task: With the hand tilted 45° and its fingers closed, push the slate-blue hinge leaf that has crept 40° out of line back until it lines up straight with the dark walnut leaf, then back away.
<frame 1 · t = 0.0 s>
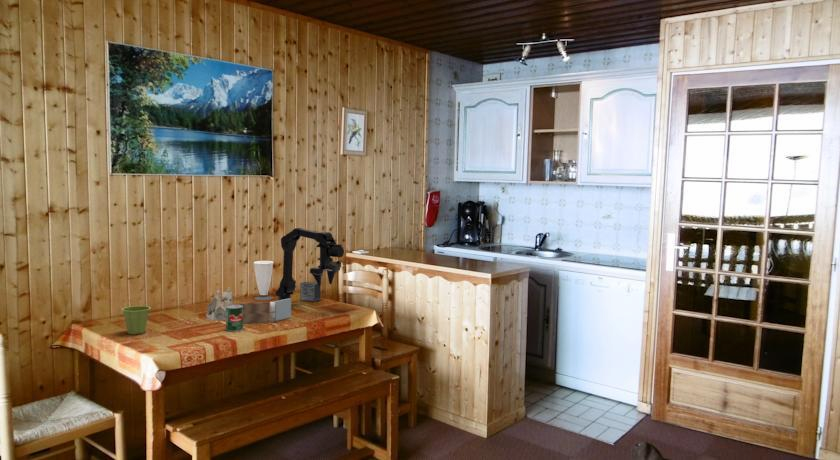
hand: (325, 285, 317), 15 cm above the table, tool pointing down, fingers open, 9 cm apart
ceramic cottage: (219, 317, 304), on the table
cup: (263, 298, 353), on the table
walnut leaf: (272, 322, 295), on the table
canned tomato: (234, 329, 280), on the table
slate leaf: (280, 309, 299), point 5 cm above the table, hinge at 40.0°
small box: (310, 301, 348), on the table
plant pot: (136, 333, 271), on the table
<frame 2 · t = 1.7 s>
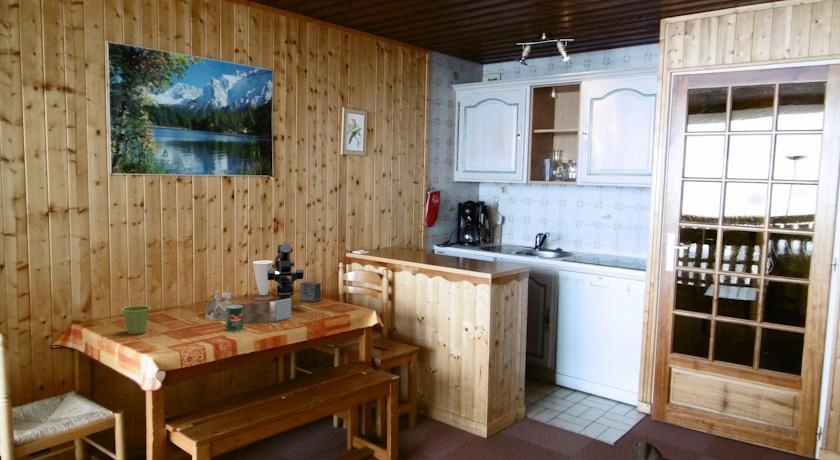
hand: (286, 287, 314), 14 cm above the table, tool tilted 45°, fingers open, 5 cm apart
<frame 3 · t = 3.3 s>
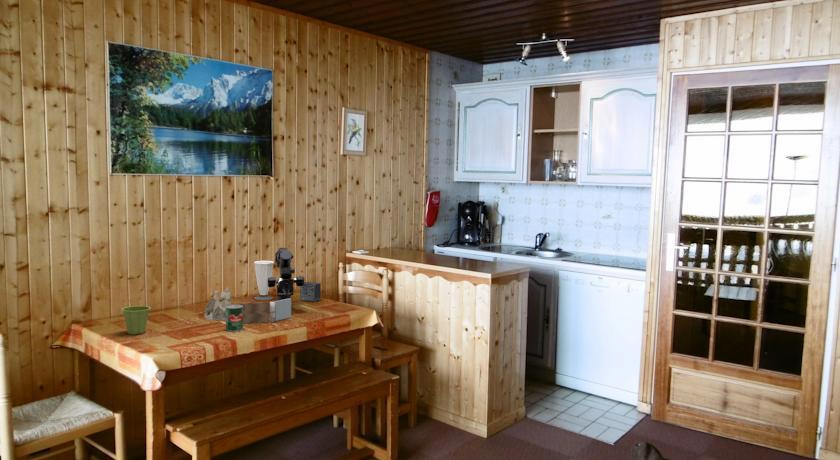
hand: (286, 294, 310), 11 cm above the table, tool tilted 45°, fingers closed
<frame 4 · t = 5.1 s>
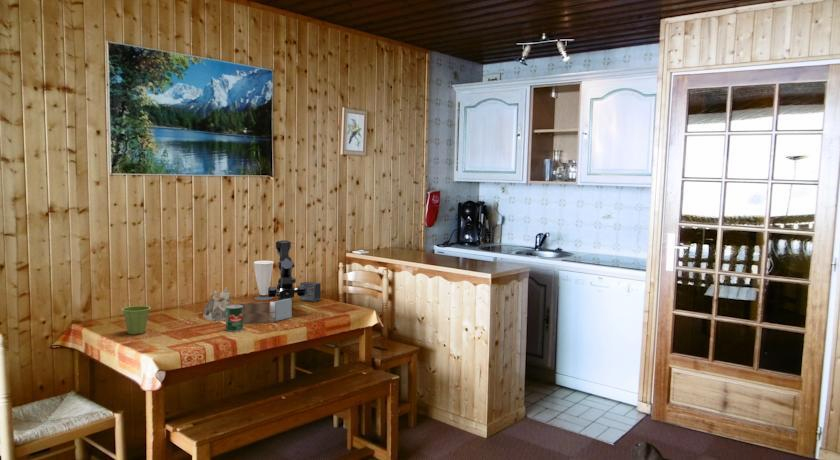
hand: (287, 305, 304), 7 cm above the table, tool tilted 45°, fingers closed
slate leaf: (280, 309, 299), point 5 cm above the table, hinge at 38.5°, touching gripper
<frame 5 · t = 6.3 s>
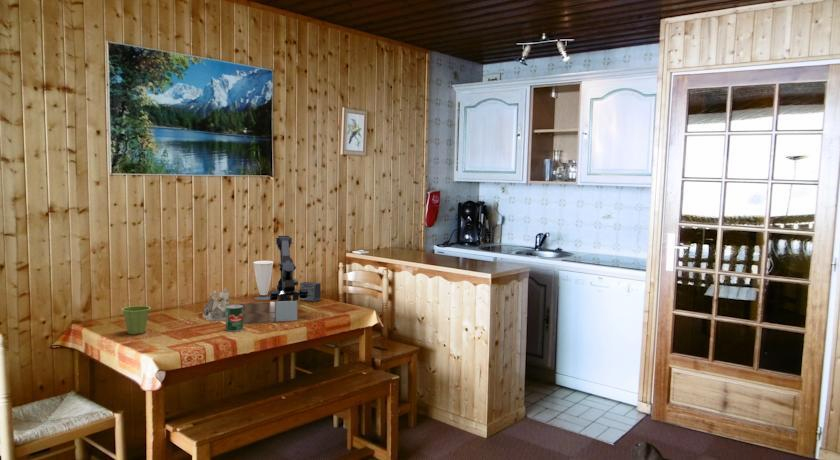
hand: (290, 308, 298), 6 cm above the table, tool tilted 45°, fingers closed on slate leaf, 2 cm apart
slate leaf: (283, 311, 296), point 5 cm above the table, hinge at 2.7°, touching gripper
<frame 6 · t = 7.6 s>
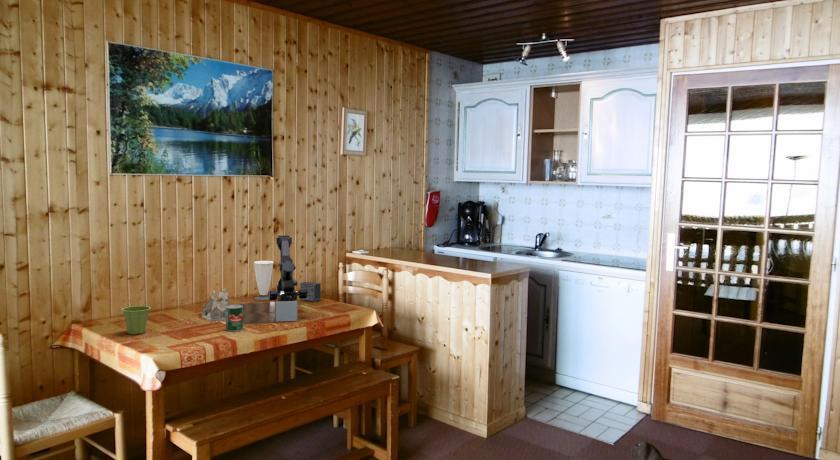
hand: (289, 308, 297), 6 cm above the table, tool tilted 45°, fingers closed
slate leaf: (283, 311, 296), point 5 cm above the table, hinge at -2.2°, touching gripper
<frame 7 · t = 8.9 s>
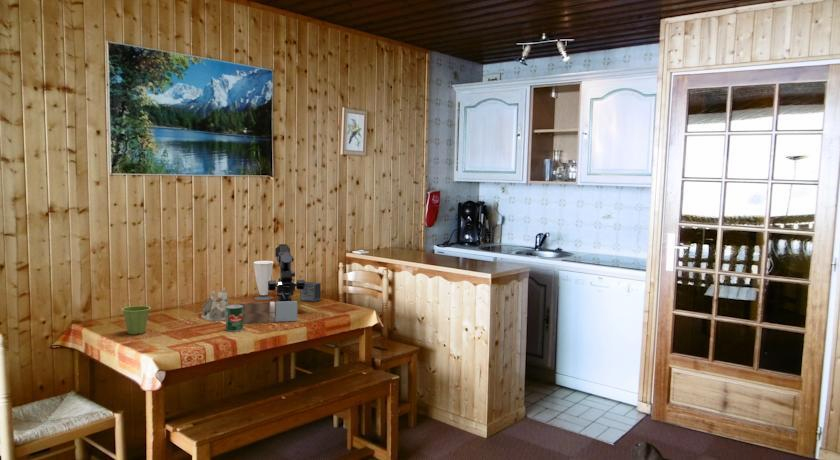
hand: (287, 298, 308), 9 cm above the table, tool tilted 45°, fingers closed
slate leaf: (283, 311, 296), point 5 cm above the table, hinge at -1.9°
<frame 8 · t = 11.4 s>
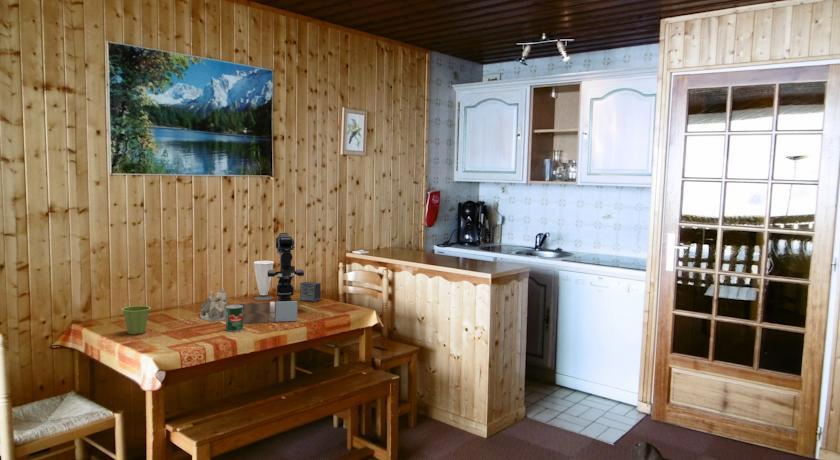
hand: (285, 289, 319), 12 cm above the table, tool pointing down, fingers closed
at the end: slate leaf at -2° (first picture: +40°); small box moved 0.3 cm from its start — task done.
